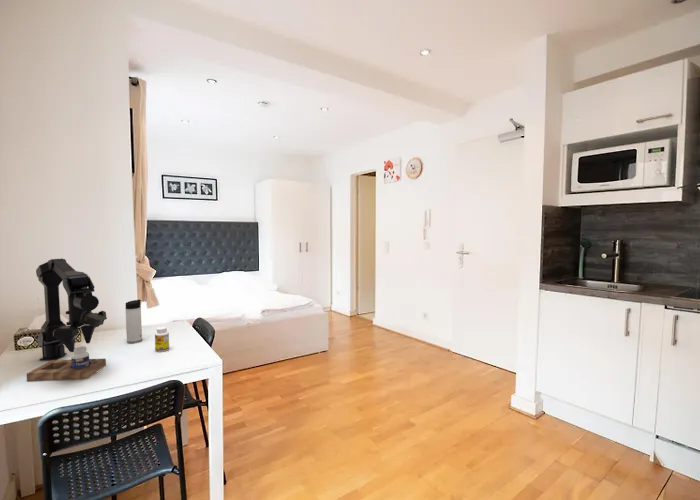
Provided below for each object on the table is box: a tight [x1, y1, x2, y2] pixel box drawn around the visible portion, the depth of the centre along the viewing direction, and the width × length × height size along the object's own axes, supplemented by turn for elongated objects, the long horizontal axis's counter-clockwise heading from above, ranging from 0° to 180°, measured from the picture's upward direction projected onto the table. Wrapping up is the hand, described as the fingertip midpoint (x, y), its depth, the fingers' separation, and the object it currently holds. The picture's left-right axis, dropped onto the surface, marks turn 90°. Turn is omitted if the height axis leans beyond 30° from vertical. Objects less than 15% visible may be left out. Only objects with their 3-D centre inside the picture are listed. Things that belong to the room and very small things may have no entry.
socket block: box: [26, 358, 107, 382], centre depth 131 cm, size 20×12×3 cm, turn 96°
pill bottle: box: [70, 345, 90, 369], centre depth 131 cm, size 5×5×10 cm
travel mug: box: [124, 299, 143, 344], centre depth 166 cm, size 6×7×20 cm
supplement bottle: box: [154, 326, 170, 353], centre depth 155 cm, size 6×6×10 cm
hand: (80, 347), depth 131 cm, fingers open, 9 cm apart
